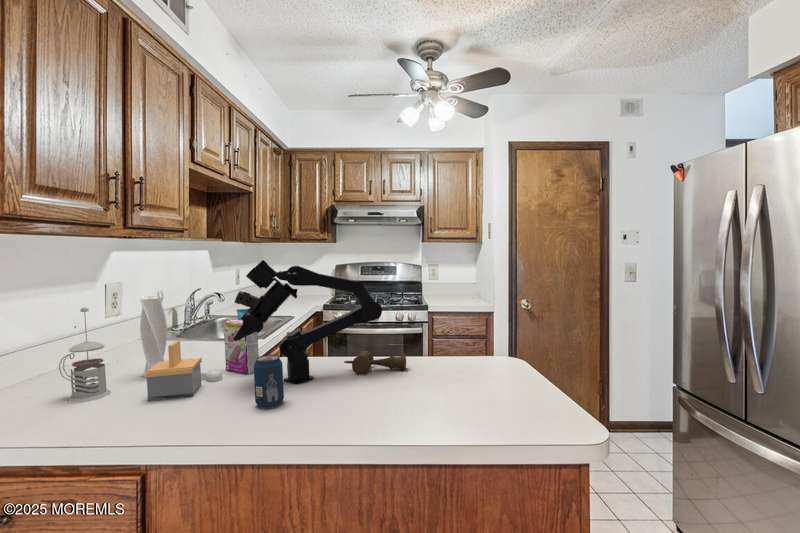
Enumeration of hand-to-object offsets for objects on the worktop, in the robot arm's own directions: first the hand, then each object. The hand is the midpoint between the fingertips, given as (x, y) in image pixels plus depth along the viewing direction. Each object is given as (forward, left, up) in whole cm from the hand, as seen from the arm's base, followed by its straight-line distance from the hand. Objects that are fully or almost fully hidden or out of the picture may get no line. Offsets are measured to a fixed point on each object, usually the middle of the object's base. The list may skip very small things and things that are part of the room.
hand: (234, 339), depth 119 cm
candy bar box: (+13, -10, -14) cm, 21 cm away
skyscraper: (+33, +8, -14) cm, 37 cm away
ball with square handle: (+14, +1, -14) cm, 19 cm away
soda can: (-21, +3, -14) cm, 25 cm away
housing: (+10, +13, -14) cm, 21 cm away
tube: (+21, -18, -14) cm, 31 cm away
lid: (+10, +12, -7) cm, 17 cm away
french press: (+29, +28, -14) cm, 43 cm away
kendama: (-24, -34, -14) cm, 43 cm away
